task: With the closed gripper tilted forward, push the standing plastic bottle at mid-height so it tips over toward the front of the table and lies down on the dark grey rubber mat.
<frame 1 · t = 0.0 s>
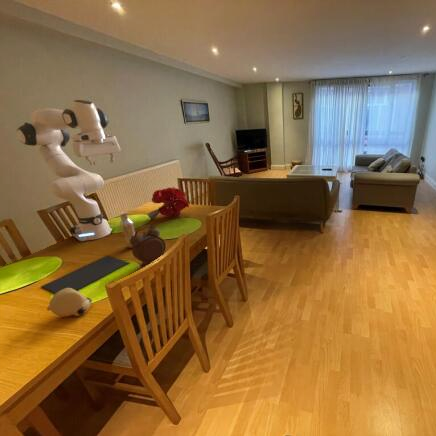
hand: (102, 163, 126), 48 cm above the table, tool pointing down, fingers open, 8 cm apart
beige rounded lump: (74, 312, 93), on the table
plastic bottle: (133, 246, 141), on the table
mat: (88, 274, 116), on the table
alarm clock: (152, 261, 126), on the table
bouquet: (170, 216, 184), on the table
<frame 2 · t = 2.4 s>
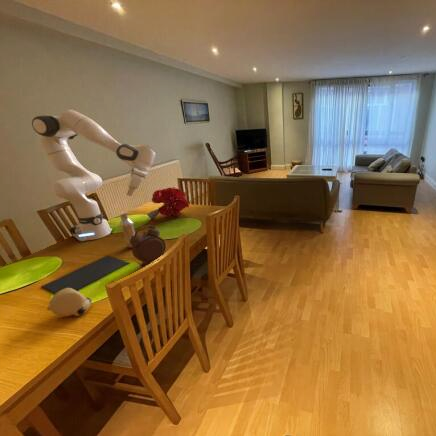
hand: (128, 195, 134), 30 cm above the table, tool tilted 35°, fingers open, 8 cm apart
nothing on the table moved.
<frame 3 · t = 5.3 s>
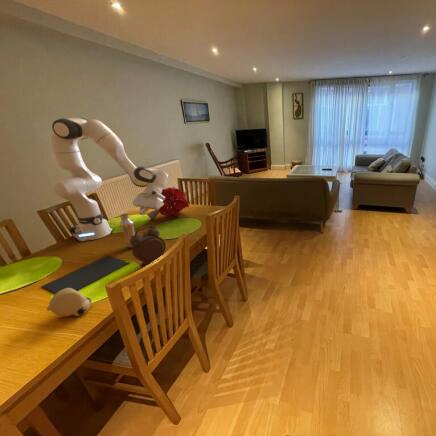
hand: (141, 214, 142), 17 cm above the table, tool tilted 45°, fingers closed
nothing on the table moved.
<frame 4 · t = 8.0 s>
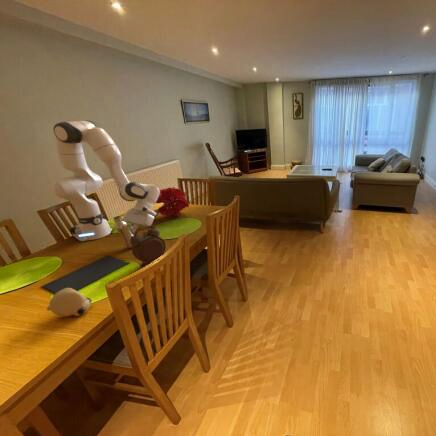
hand: (131, 231, 138), 10 cm above the table, tool tilted 45°, fingers closed, pressing on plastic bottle
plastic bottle: (133, 246, 141), on the table, touching gripper
everything else where it was.
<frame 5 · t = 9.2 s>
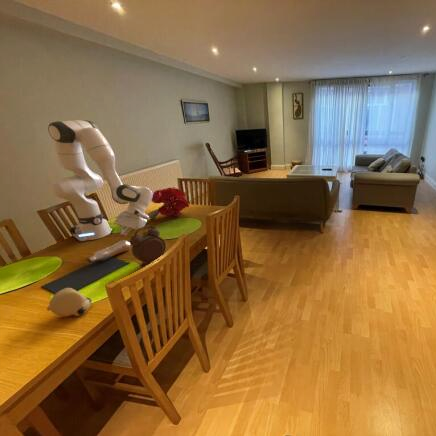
hand: (122, 234, 134), 9 cm above the table, tool tilted 45°, fingers closed
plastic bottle: (128, 243, 137), point 3 cm above the table, touching mat
everything else where it was.
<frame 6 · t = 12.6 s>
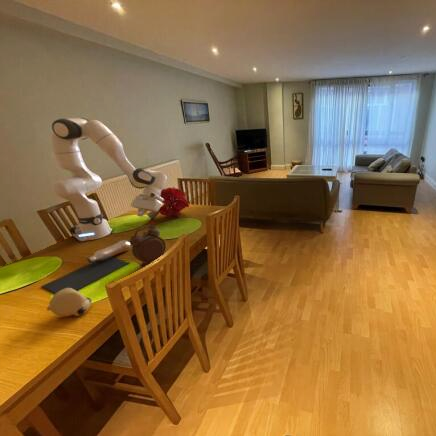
hand: (139, 216, 142), 16 cm above the table, tool tilted 45°, fingers closed
nothing on the table moved.
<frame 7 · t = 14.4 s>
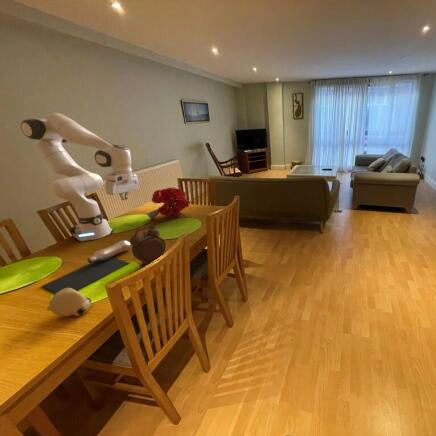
hand: (124, 199, 137), 27 cm above the table, tool pointing down, fingers closed
nothing on the table moved.
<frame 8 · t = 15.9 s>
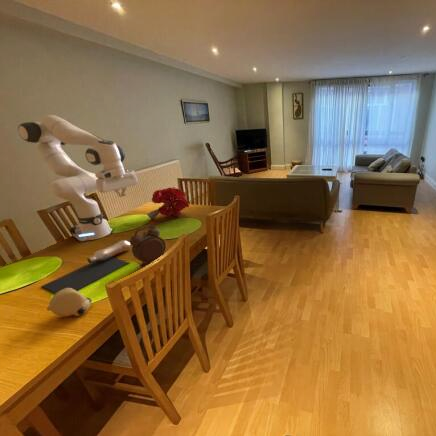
hand: (122, 196, 136), 29 cm above the table, tool pointing down, fingers closed
nothing on the table moved.
at the end: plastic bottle tilted 89°; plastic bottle touching mat, table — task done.
